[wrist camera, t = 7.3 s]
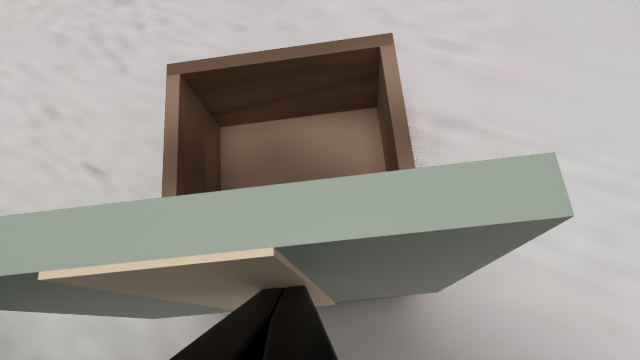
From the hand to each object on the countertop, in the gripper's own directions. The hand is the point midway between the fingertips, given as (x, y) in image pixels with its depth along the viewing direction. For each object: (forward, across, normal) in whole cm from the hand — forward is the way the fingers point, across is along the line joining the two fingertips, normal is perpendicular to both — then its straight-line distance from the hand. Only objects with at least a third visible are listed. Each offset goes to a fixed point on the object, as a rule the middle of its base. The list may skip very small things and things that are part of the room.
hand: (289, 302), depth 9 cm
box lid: (+2, -1, 0) cm, 2 cm away
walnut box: (+13, -1, -4) cm, 14 cm away
